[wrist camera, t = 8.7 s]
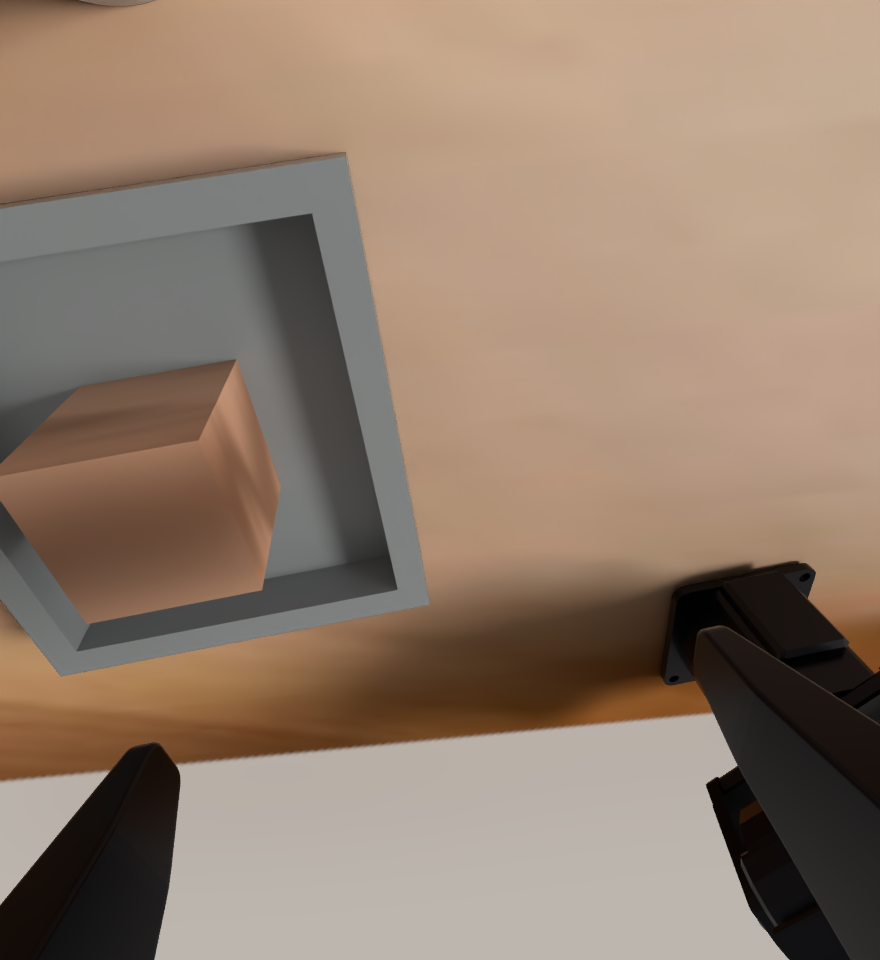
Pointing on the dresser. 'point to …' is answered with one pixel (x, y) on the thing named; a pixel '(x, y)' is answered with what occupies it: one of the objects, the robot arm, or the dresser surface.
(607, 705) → the dresser surface
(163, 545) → the block
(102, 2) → the cup
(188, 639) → the tray
